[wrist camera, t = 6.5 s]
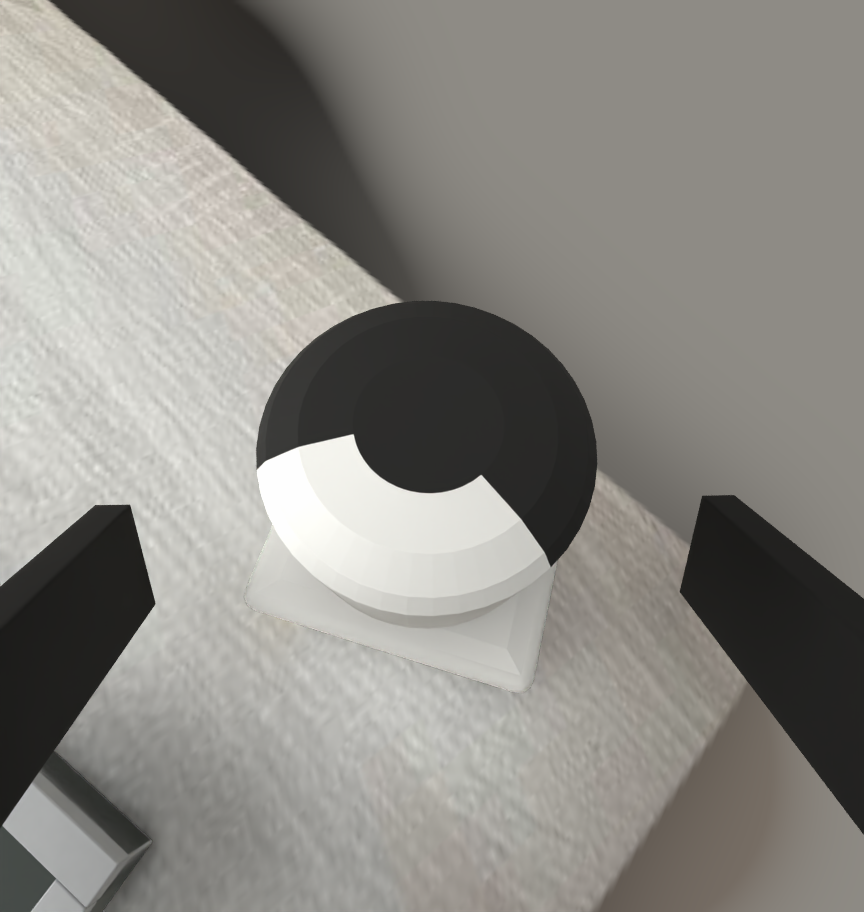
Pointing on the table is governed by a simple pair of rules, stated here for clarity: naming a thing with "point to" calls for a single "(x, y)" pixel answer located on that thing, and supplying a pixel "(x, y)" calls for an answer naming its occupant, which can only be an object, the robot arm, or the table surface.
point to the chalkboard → (65, 846)
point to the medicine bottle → (423, 488)
